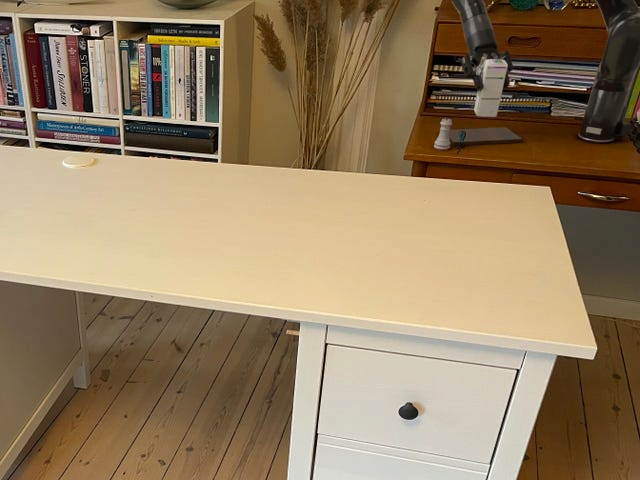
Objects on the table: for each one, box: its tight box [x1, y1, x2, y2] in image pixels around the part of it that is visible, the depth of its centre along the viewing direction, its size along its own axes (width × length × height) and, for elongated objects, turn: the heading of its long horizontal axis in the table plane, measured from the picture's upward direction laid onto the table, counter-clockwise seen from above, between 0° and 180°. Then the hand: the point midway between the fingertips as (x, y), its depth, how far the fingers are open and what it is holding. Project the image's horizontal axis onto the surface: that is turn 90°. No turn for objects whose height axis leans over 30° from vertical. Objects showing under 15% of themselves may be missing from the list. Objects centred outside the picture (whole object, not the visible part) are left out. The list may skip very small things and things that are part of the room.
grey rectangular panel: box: [449, 126, 523, 147], centre depth 217 cm, size 20×11×1 cm, turn 93°
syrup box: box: [473, 59, 508, 118], centre depth 209 cm, size 6×6×14 cm
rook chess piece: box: [433, 118, 453, 151], centre depth 209 cm, size 4×4×8 cm
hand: (493, 88), depth 208 cm, fingers closed on syrup box, 7 cm apart
